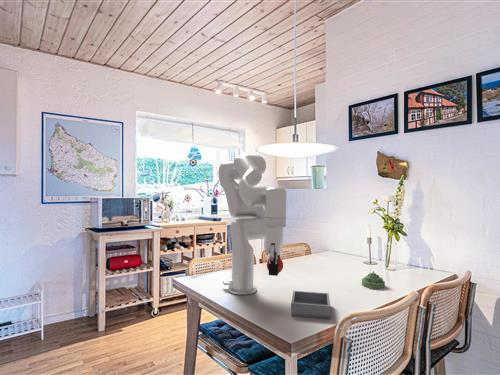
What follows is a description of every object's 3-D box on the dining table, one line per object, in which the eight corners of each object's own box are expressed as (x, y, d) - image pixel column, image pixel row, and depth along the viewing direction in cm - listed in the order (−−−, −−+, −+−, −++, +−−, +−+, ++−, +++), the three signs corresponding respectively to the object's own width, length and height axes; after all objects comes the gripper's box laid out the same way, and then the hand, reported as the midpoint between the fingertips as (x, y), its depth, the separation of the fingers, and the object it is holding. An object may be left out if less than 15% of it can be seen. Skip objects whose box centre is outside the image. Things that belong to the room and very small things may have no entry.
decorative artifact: (357, 283, 149) (370, 290, 140) (357, 269, 149) (370, 274, 140) (375, 282, 152) (389, 288, 142) (375, 267, 152) (389, 273, 142)
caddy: (291, 315, 111) (291, 303, 111) (293, 302, 124) (293, 290, 124) (330, 319, 108) (330, 306, 108) (328, 304, 122) (328, 293, 122)
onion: (275, 279, 107) (276, 255, 107) (263, 275, 111) (263, 253, 111) (286, 275, 111) (286, 253, 111) (273, 272, 115) (274, 250, 115)
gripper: (269, 219, 120) (268, 265, 120) (260, 224, 104) (259, 278, 104) (288, 220, 118) (288, 267, 119) (282, 225, 102) (281, 280, 102)
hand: (274, 272), depth 111 cm, fingers closed on onion, 5 cm apart
